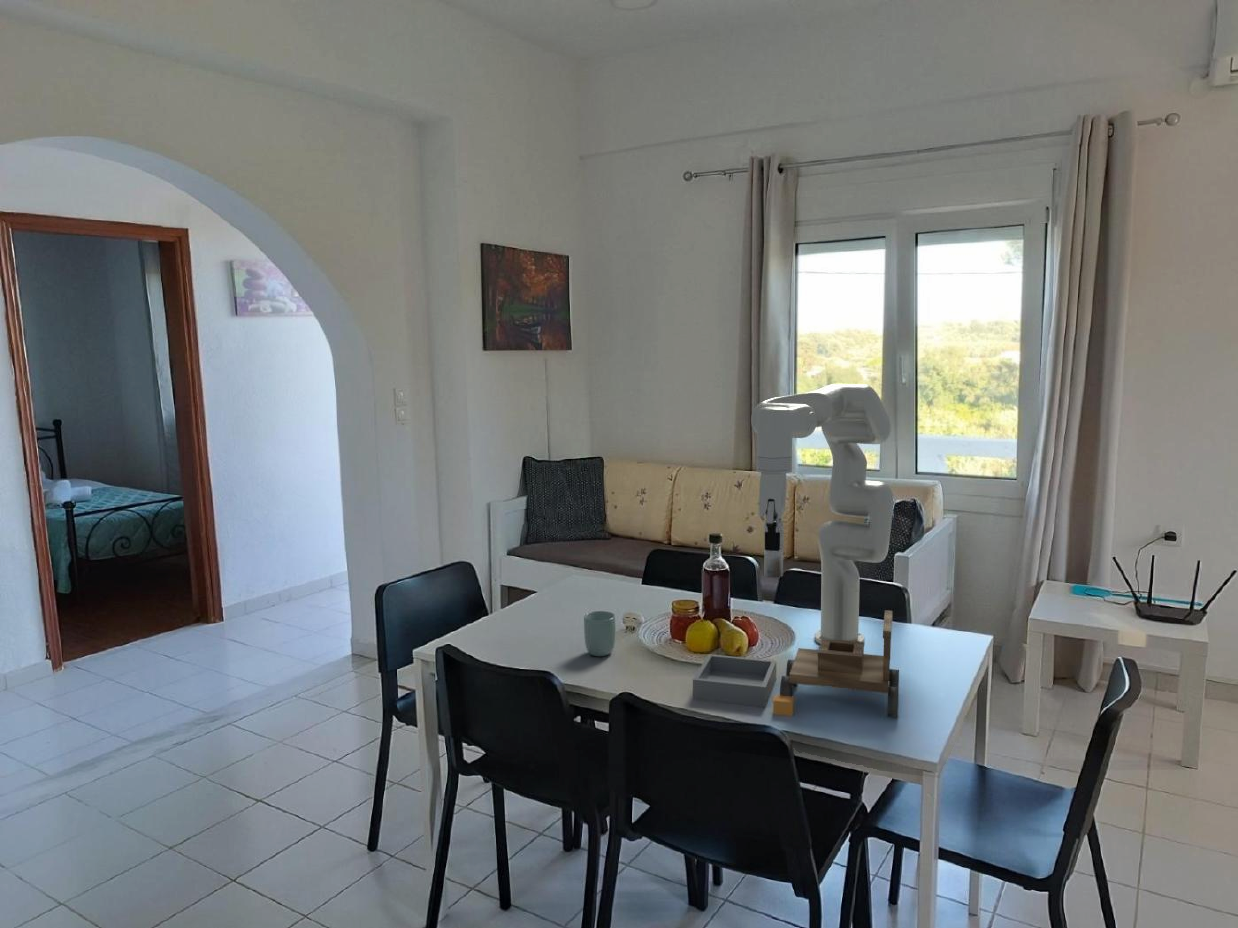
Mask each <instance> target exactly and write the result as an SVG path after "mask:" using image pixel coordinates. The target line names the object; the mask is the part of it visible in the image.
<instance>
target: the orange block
mask: <svg viewBox="0 0 1238 928" xmlns="http://www.w3.org/2000/svg"><path fill="white" fill-rule="evenodd" d="M794 711H795V696H792V697H790V696H781V695H780V694H774V697H773V700H772V714H773V715H779V716H787V717H793V714H794Z"/></svg>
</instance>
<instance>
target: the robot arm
mask: <svg viewBox="0 0 1238 928" xmlns="http://www.w3.org/2000/svg"><path fill="white" fill-rule="evenodd" d="M750 417H751V418H750V424H751V428H752V429H753V431H754V432H755V433H756V457H755V459H756V463H755V464H756V467H755V468H756V472H757V473H760V477H759V494H758V495H759V496H758V497H759V498H758V518H759V519H763V518H764V517H765V520H766V524H765V523H764V533H765V550H769V551H779V550H780V532H779V520H782V521H783V518H782V517H783V516H784V513H785V512H786V505H787V503H786V502H787V501H786V500H787V474H789V473H792V471H793V439H805V438H807V437H809V436H811V435H812V434H813V433H814V431H815V430H816V428H820V427H821V432H822V434H823V435H824V438H825V440H826V442H827V445H828V447H829V449H830V453H831V455H832V469H831V478H830V484H829V485H830V486H829V492H828V493H829V496H828V505H829V509H830V510H831V512H832V513H834V514H836V515H839V516H845V517H853V518H861V519H862V518H863V519H868V520H869V523H865V522H856V521H848V520H847V521H846V520H835V519H834V520H829V521H826V522H824V523H823V524H822V525H821V526H820V528H819V530H818V533H817V543H818V549H819V554H820V562H821V563H820V566H821V567H820V568H821V578H820V579H821V581H820V582H821V583H820V585H821V590H820V595H821V597H820V600H821V601H820V630H818V631H816V632H815V633H814V640H815V642H816V643H818V644H819V645H820V643H821V640H822V639H833V640H845V641H856V642H864V643H865V636H864V635H863V634H862V633H861V632H859V631H860V630H859V619H860V618H859V617H860V616H859V615H860V614H859V613H860V578H861V577H860V572H859V569H858V568H857V566H856V564H855V563H854V561H856V562H857V561H858V562H866V563H876V564H877V563H882V562H883V561H885V559H886V557H887V555H888V552H889V547H890V539H891V532H892V524H893V523H892V522H893V513H894V493H893V490H892V488H891V486H890V485H889V484H888V483H886V482H883V481H879V480H878V481H877V480H868V479H866V478H867V467H868V460H867V457H866V455H865V453H864V452H863V450H862V448H861V447H860V445H861V444H864V445H881V444H883V443H886V441H887V440H888V439H889V437H890V435H891V428H892V426H891V419H890V417H889V413H888V412H887V409H886V408H885V406H884V404H883V402H882V399H881V398H880V396H879V394H878V393H877V391H875V389H874V388H873V387H871V386H870V385H868V384H865V383H864V384H863V383H857V384H855V383H832V384H826V385H824V386H821V387H819V388H817V389H813V390H810V391H808V392H801V393H795V394H790V395H784V396H777V397H773V398H769V399H767V400H764V401H761V402H759V403H758V404H757V405H756V406H754V409H753V411H752V413H751V416H750ZM859 444H860V445H859ZM774 521H776V523H775V522H774Z"/></svg>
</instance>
